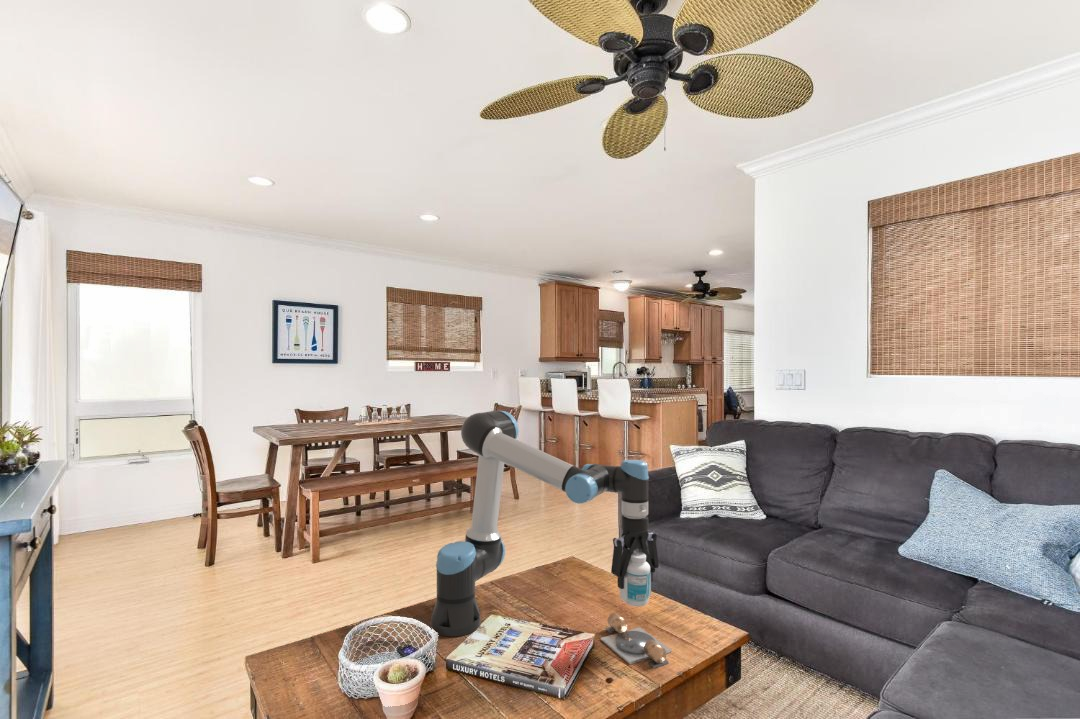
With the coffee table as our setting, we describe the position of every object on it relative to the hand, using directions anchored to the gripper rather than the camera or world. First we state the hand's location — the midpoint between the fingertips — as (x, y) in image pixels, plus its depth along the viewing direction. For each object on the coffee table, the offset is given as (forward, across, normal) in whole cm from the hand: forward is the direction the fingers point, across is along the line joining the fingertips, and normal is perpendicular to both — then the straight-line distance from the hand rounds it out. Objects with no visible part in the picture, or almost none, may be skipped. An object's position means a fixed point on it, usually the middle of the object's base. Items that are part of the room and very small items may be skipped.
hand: (635, 596), depth 147 cm
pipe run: (+14, 0, 0) cm, 14 cm away
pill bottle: (+1, 0, 0) cm, 1 cm away
